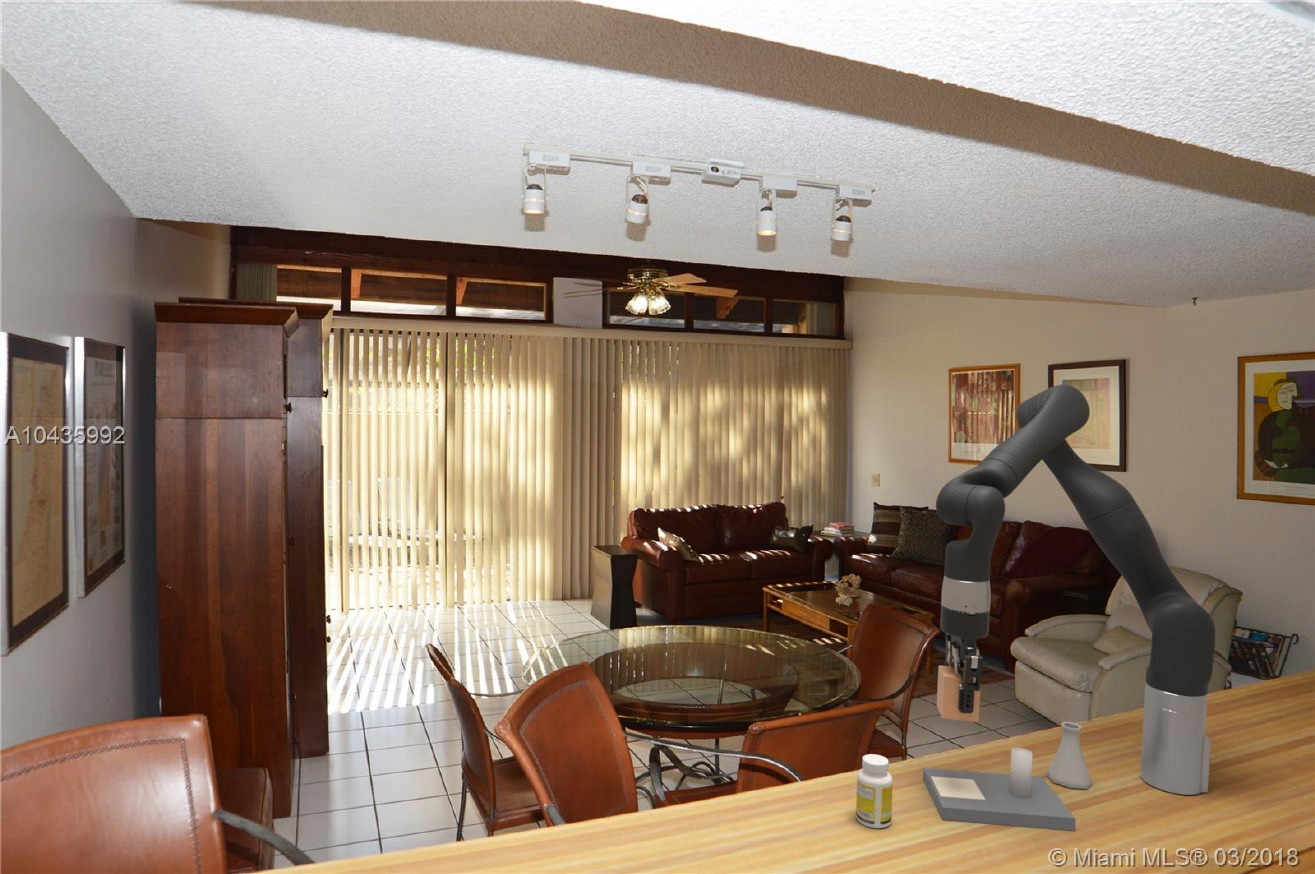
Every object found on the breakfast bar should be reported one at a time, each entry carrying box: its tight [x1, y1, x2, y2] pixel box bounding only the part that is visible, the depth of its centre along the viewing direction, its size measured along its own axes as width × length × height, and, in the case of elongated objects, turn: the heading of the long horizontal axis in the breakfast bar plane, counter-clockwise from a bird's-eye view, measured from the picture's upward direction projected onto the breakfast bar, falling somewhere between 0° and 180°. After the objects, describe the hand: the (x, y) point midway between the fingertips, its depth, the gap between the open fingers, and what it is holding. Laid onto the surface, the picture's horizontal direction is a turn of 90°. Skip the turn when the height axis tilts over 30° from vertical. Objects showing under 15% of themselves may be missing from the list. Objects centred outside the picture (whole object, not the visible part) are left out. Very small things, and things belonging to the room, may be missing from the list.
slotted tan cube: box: [936, 665, 982, 723], centre depth 132 cm, size 6×6×7 cm
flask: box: [1046, 721, 1093, 790], centre depth 141 cm, size 7×7×10 cm
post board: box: [922, 747, 1076, 832], centre depth 132 cm, size 20×14×9 cm
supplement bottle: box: [855, 753, 893, 829], centre depth 125 cm, size 5×5×10 cm
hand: (960, 704), depth 132 cm, fingers closed on slotted tan cube, 5 cm apart
